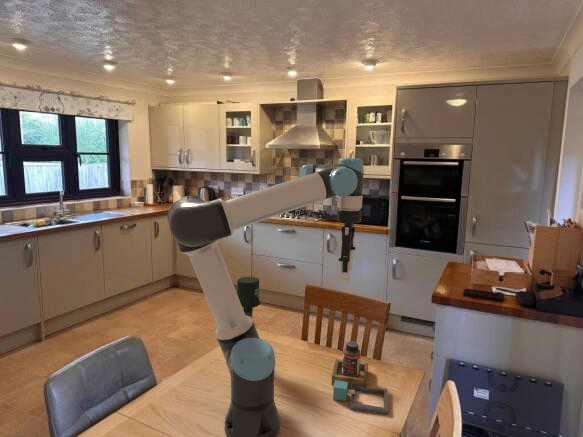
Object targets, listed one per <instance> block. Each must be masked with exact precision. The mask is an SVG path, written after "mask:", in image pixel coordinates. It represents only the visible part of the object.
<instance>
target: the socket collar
mask: <svg viewBox="0 0 583 437" xmlns="http://www.w3.org/2000/svg"><path fill="white" fill-rule="evenodd" d="M351 390H355V392H361V393H368V394H375V395H376V394H377V395H382V396H383V406H377V405H376V406H375V405H370V404H364V403H355V395H356V394H355V395H354V394H350V400H349V410H353V411H360V412H361V411H362V412H367V413H372V414H373V413H374V414H379V415H380V414H381V415H387V416H388V414H389V402H388V388H383V387H382V388H381V387H374V386H368V385H367V386H360V385H353V384H352V387H351Z"/></svg>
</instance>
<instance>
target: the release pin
mask: <svg viewBox="0 0 583 437" xmlns="http://www.w3.org/2000/svg"><path fill="white" fill-rule="evenodd" d="M351 394H354V395H356V391H355V390H352V389H348V382H344V381H337V380H335V383H334V385H333V393H332V395H333V396H332V400H336V401H344V402H347V397H348V395H351Z"/></svg>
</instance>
